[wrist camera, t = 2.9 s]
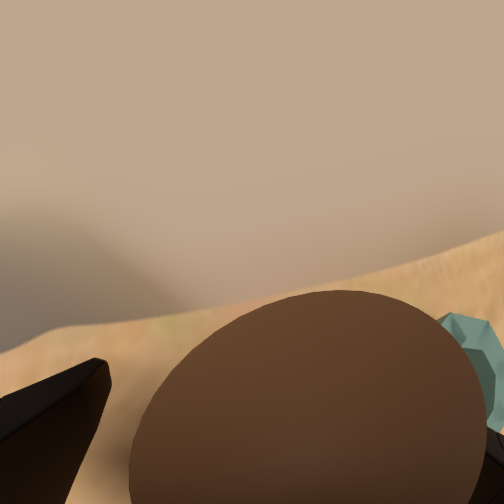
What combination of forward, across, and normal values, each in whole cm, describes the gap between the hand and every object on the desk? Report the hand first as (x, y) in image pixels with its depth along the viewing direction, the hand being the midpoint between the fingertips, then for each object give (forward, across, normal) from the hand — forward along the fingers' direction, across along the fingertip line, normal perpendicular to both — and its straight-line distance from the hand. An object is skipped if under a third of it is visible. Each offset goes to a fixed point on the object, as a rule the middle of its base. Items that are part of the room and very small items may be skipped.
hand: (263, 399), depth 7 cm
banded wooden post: (+4, 0, +6) cm, 7 cm away
